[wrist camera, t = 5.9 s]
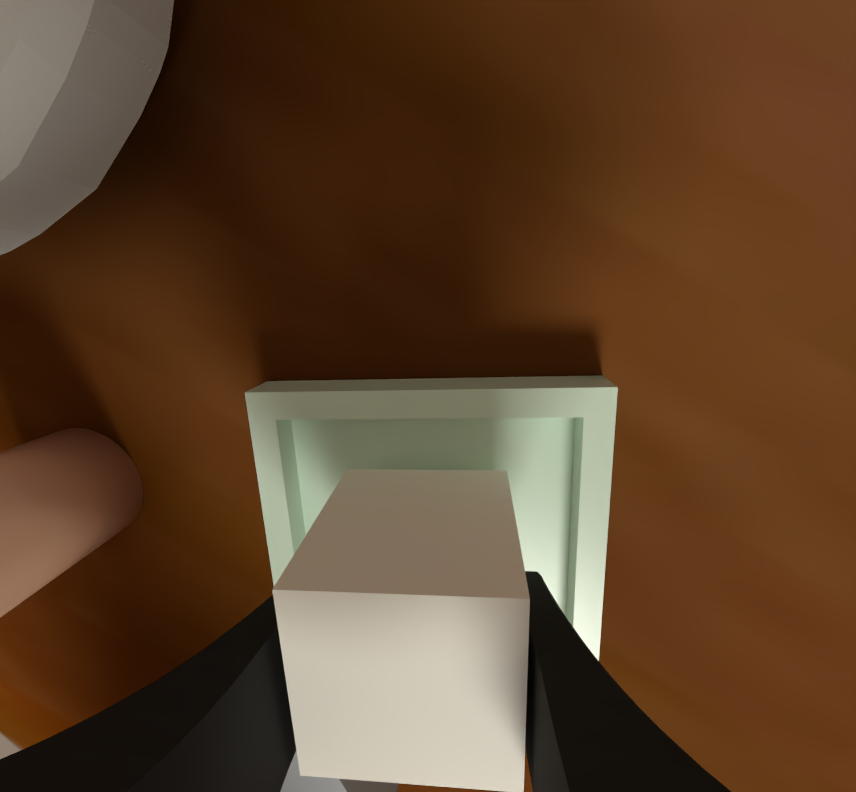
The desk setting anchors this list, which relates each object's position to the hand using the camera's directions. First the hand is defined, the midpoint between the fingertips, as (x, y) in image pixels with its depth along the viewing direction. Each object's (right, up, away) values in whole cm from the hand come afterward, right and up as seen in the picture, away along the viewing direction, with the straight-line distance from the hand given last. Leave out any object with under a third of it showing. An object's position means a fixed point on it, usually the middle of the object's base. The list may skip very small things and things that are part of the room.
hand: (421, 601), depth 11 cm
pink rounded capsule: (-12, +2, +4) cm, 13 cm away
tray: (0, +1, +3) cm, 3 cm away
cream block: (0, +1, +2) cm, 2 cm away
